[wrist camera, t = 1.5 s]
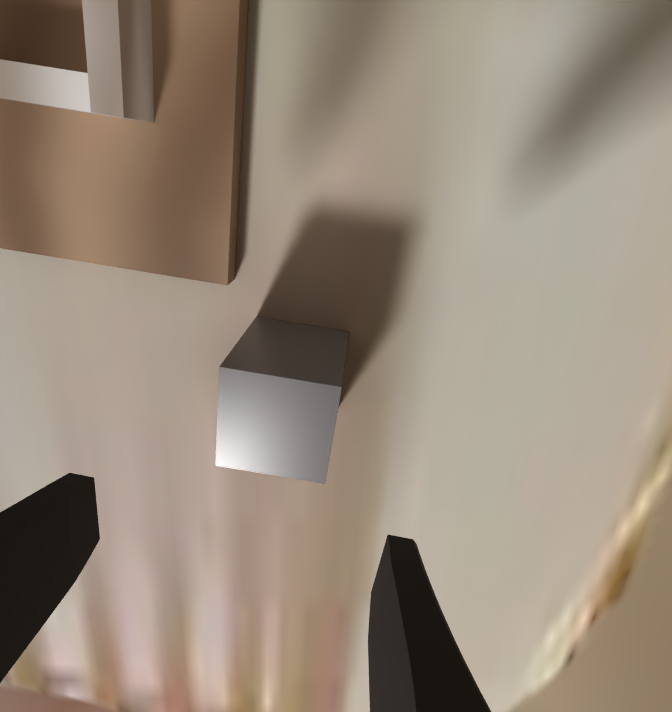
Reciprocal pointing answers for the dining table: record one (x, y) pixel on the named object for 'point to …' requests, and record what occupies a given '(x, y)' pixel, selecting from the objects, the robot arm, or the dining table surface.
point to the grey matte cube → (281, 399)
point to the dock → (123, 132)
